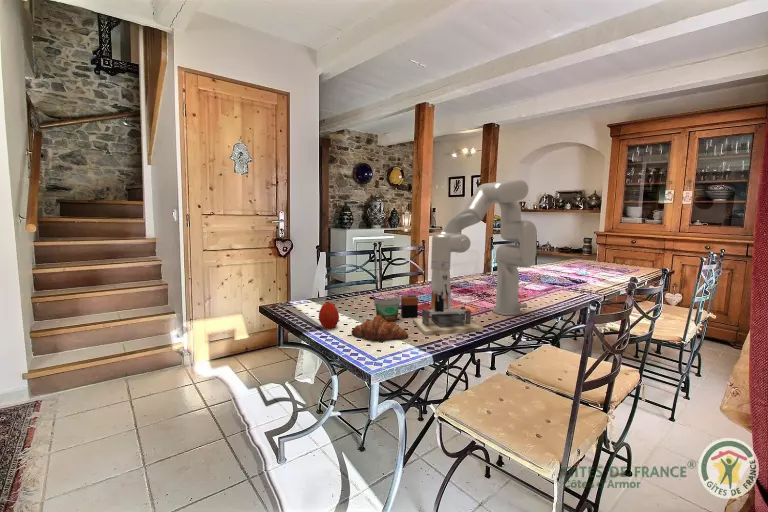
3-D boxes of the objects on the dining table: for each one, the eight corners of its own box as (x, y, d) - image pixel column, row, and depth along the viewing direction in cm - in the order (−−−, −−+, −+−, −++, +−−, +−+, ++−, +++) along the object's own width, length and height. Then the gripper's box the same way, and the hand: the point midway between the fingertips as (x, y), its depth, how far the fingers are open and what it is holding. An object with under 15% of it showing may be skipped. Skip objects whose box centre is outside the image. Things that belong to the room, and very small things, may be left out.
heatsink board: (465, 318, 160) (466, 302, 159) (483, 330, 145) (484, 312, 144) (412, 322, 155) (413, 305, 154) (425, 335, 140) (425, 316, 139)
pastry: (387, 327, 150) (387, 308, 149) (409, 338, 137) (410, 317, 136) (350, 334, 141) (350, 314, 140) (370, 347, 128) (370, 325, 127)
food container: (380, 325, 152) (380, 301, 150) (373, 321, 157) (373, 298, 156) (406, 321, 157) (406, 298, 156) (398, 317, 163) (399, 295, 162)
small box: (430, 313, 169) (431, 290, 168) (433, 310, 175) (434, 288, 173) (447, 315, 166) (448, 292, 165) (450, 311, 172) (451, 289, 170)
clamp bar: (465, 311, 153) (465, 308, 153) (468, 313, 149) (469, 310, 149) (427, 312, 149) (427, 309, 149) (429, 314, 146) (430, 311, 146)
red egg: (316, 325, 151) (315, 300, 150) (336, 323, 154) (335, 298, 153) (321, 332, 144) (320, 305, 142) (341, 329, 147) (341, 303, 145)
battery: (417, 317, 163) (418, 295, 161) (402, 318, 162) (402, 295, 160) (415, 314, 167) (415, 293, 166) (400, 315, 166) (401, 293, 165)
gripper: (457, 268, 140) (455, 315, 142) (442, 262, 154) (441, 305, 156) (438, 268, 138) (436, 316, 140) (425, 263, 152) (424, 306, 155)
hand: (439, 310), depth 148 cm, fingers closed
